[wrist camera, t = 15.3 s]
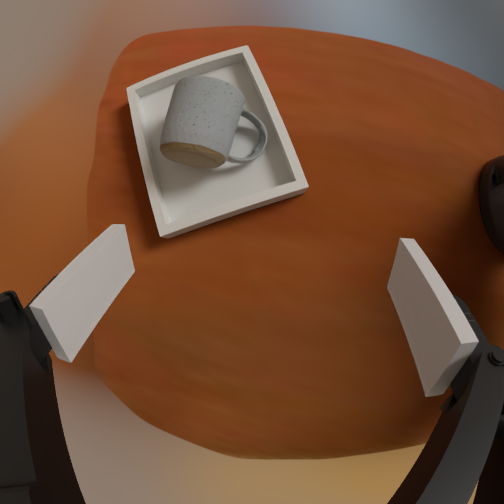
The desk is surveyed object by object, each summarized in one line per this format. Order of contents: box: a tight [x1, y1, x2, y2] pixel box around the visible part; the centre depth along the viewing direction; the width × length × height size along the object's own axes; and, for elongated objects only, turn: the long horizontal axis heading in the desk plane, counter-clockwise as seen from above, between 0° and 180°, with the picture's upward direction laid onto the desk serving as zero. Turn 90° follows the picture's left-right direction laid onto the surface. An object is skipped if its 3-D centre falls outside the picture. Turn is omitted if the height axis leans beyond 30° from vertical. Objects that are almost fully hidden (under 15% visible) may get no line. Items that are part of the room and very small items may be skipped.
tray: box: [127, 45, 309, 239], centre depth 31 cm, size 16×20×3 cm
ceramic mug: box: [160, 76, 268, 168], centre depth 27 cm, size 11×8×8 cm
